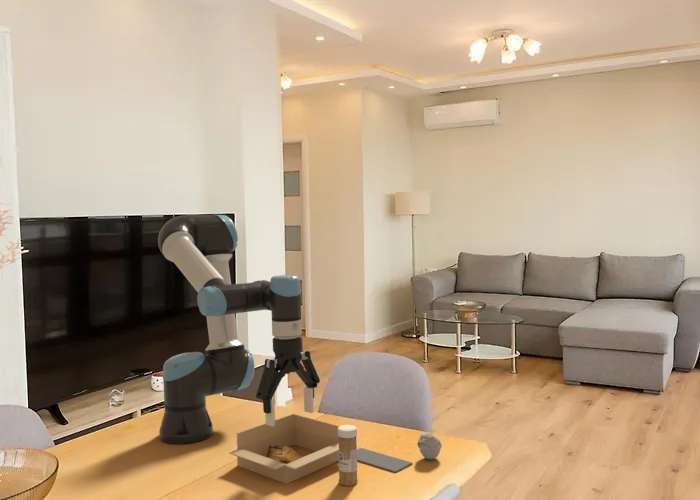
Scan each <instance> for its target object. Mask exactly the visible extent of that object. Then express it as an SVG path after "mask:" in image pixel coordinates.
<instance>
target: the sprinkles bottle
mask: <svg viewBox="0 0 700 500" xmlns="http://www.w3.org/2000/svg"><path fill="white" fill-rule="evenodd" d="M338 426H339V427H338V437H339V461H338V476H339V478H338V484H339V485H342V486H346V487H349V486H350V487H352V486H354V485H356V484H357V483H358V482H359V480H358V461H357V449H358V446H357V436H358V429H357V426H356V425H352V424H342V425H338Z"/></svg>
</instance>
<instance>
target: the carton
mask: <svg viewBox="0 0 700 500" xmlns="http://www.w3.org/2000/svg"><path fill="white" fill-rule="evenodd" d="M339 426H340V425H337V424H335V423H329V422H326V421H323V420H319V419H315V418H312V417H308V416H303V415H299V414H296V413H291V414H289V415H286V416H282V417H279V418H277V419H275V426H274V427H272V426H269V425H266V422H265V423H262V424H259V425H257V426H254V427H251V428H248V429H245V430H242V431H239V432H237V433H236V449H234V450H231V451H230V452H228V454H230V455H233V456H235V457H236V460H237V462H236V465H237V467H240V468H243V469H245V470H248V471H251V472H253V473H256V474H258V475H259V474H260V475H262V476H264V477H267V478H270V479H272V480H275V481H279V482H281V483H283V484H286V485H288V484H290V483H292V482H294V481H296V480H298V479H301V478H303V477H305V476H307V475H311V474H312V473H315V472H317V471H318V470H321V469H324V468H325V467H327V466H329V465H333V464H334V463H336V462H339V437H338V427H339ZM269 445H275V446H286V445H289V446H290V447H292V446H297V447H298V446H299V447H302V448H305V449H308V450H311V451H314V452H312V453H310V454H307V455H305V456H304V457H302V458H300V459H297V460H295V461H293V462H290V463H286V462H279V461H276V460H273V459H270V458H268V456H267V455H268V448H269Z"/></svg>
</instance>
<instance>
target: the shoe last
mask: <svg viewBox="0 0 700 500" xmlns="http://www.w3.org/2000/svg"><path fill="white" fill-rule="evenodd" d="M266 457H267V458H270V459H273V460H276V461H279V462H282V463H285V464H288V463H290V462H293V461H295V460H297V459H300V458H302V457H304V456H303V455H300V454H298V453H297V452H296V451H295V450H294V449H293V448H292V446H289V445H286V446H275V445H269V448H268V455H266Z"/></svg>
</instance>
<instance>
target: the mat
mask: <svg viewBox="0 0 700 500" xmlns="http://www.w3.org/2000/svg"><path fill="white" fill-rule="evenodd" d="M357 462H358V463H362V464H366V465H368V466H372V467H375V468H379V469H382V470H385V471H388V472H391V473H395V474H396V473H398V472H400V471H403V470H404V469H406V468H408V467H409V466H411V465H413V462H412V461H408V460H405V459H401V458H397V457H395V456H390V455H388V454H384V453H381V452H377V451H375V450H370V449H366V448H363V447H359V448H357Z"/></svg>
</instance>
